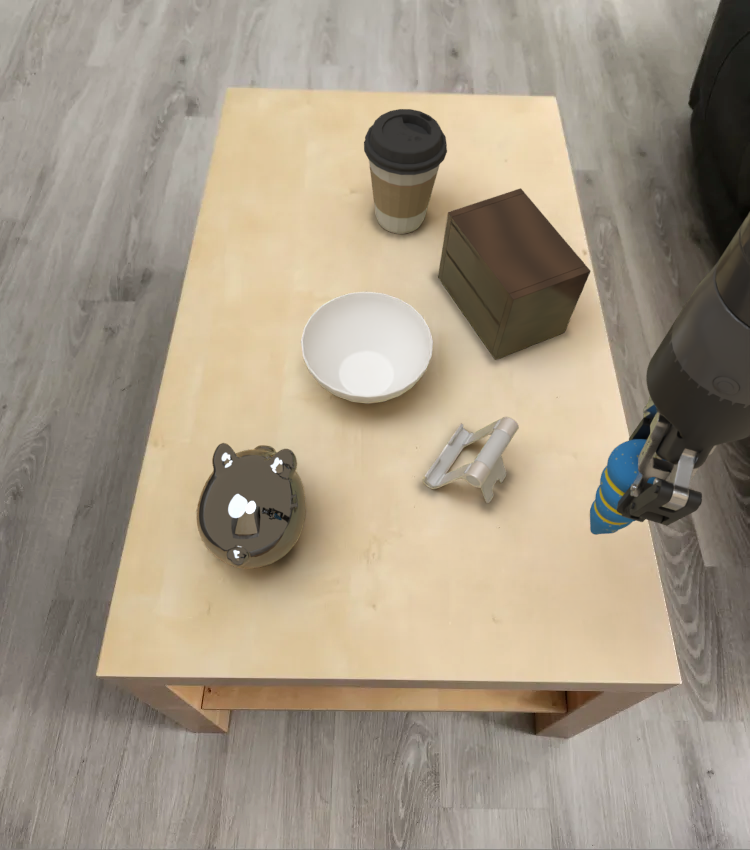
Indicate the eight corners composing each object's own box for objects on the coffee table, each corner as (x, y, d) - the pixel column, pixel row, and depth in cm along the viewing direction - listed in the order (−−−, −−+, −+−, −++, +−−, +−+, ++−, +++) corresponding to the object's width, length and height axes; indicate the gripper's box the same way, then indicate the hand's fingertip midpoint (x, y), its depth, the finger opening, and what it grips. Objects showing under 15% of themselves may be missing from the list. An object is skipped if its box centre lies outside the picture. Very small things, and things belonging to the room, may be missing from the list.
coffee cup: (452, 217, 103) (467, 130, 91) (402, 256, 99) (409, 171, 86) (397, 181, 107) (403, 92, 94) (346, 217, 103) (345, 129, 90)
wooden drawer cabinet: (503, 254, 100) (521, 188, 90) (564, 332, 93) (591, 270, 82) (437, 277, 97) (447, 211, 87) (495, 360, 90) (513, 299, 80)
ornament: (555, 529, 62) (607, 450, 49) (588, 493, 63) (647, 407, 50) (602, 569, 60) (669, 498, 47) (635, 530, 62) (708, 452, 49)
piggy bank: (317, 473, 81) (312, 424, 71) (298, 597, 73) (290, 562, 63) (224, 464, 81) (206, 414, 71) (196, 587, 74) (171, 550, 64)
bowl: (367, 451, 83) (368, 421, 77) (278, 374, 88) (273, 341, 82) (453, 374, 89) (460, 341, 83) (365, 307, 94) (366, 271, 88)
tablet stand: (457, 431, 84) (467, 394, 77) (514, 462, 82) (529, 428, 75) (421, 483, 81) (428, 449, 73) (479, 518, 79) (492, 487, 71)
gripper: (810, 475, 34) (674, 580, 49) (813, 272, 41) (693, 418, 56) (658, 431, 35) (570, 547, 50) (686, 241, 42) (602, 392, 57)
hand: (635, 478), depth 53 cm, fingers closed on ornament, 5 cm apart
